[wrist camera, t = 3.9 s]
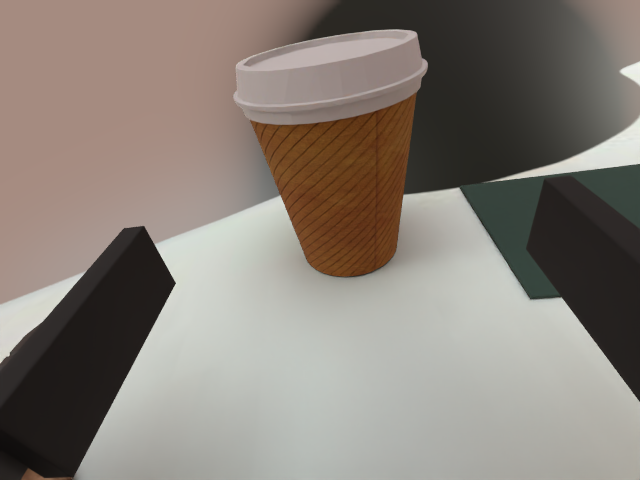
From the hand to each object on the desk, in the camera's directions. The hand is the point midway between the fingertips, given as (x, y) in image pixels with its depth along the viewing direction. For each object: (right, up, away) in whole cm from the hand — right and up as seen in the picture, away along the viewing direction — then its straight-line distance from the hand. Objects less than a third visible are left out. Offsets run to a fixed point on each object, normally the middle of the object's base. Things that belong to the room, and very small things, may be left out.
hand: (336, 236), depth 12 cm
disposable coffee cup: (+2, -1, +12) cm, 12 cm away
